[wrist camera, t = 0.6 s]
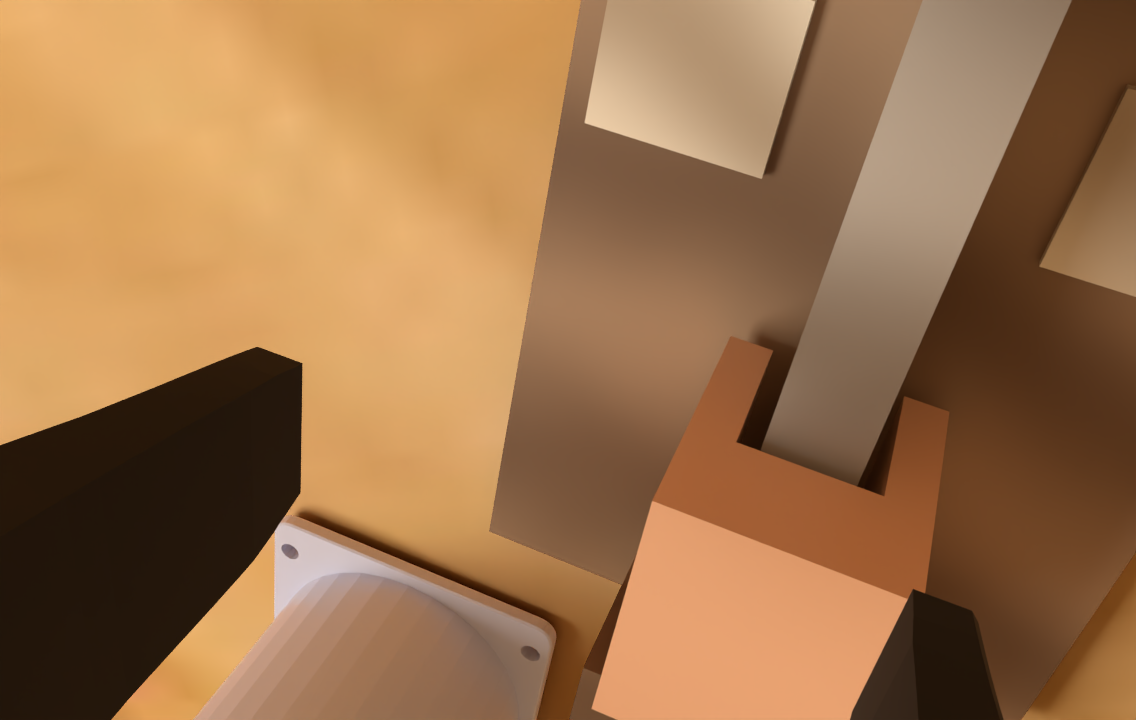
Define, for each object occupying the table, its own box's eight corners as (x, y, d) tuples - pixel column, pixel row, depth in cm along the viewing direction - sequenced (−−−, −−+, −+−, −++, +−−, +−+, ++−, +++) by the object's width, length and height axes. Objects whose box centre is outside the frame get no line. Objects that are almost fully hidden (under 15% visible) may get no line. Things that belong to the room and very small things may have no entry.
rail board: (1008, 704, 23) (1000, 913, 20) (506, 504, 26) (408, 656, 22) (1612, -208, 13) (1857, -152, 9) (672, -405, 15) (541, -428, 11)
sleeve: (857, 602, 22) (815, 804, 18) (670, 529, 22) (591, 708, 19) (949, 411, 19) (923, 605, 15) (730, 335, 20) (651, 500, 16)
